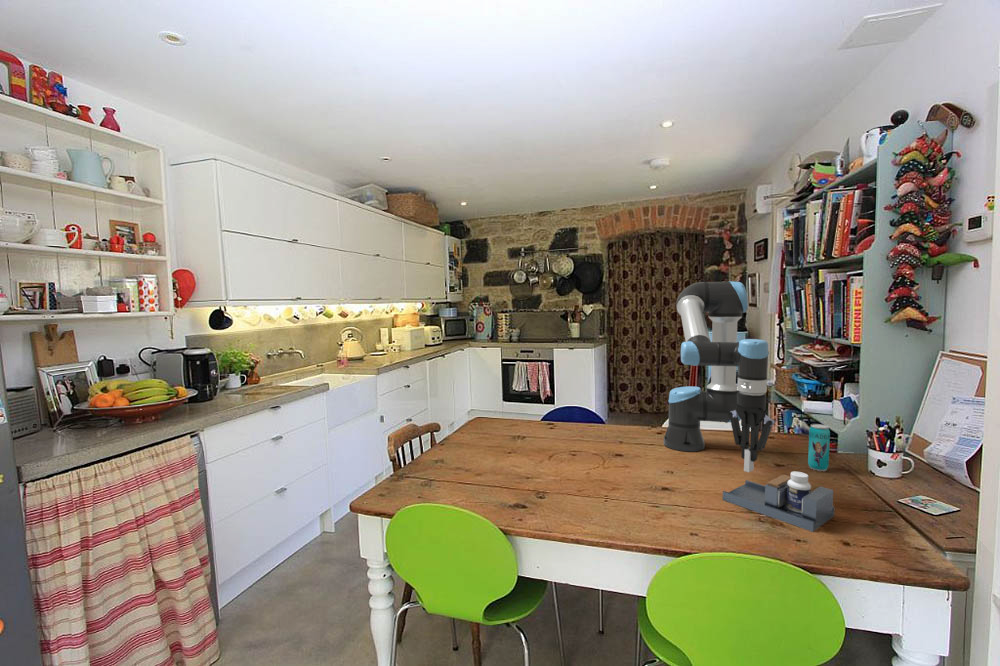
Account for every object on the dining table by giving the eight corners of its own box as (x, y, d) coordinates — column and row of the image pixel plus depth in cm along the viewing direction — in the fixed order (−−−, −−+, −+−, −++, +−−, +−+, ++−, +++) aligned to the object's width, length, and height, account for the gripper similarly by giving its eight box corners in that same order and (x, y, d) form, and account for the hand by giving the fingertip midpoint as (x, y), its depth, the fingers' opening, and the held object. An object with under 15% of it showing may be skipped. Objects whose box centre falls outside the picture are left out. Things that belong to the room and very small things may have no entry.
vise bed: (722, 500, 133) (723, 474, 132) (746, 488, 141) (747, 464, 140) (812, 531, 114) (814, 502, 114) (834, 515, 122) (835, 488, 122)
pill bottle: (785, 510, 123) (786, 474, 122) (787, 503, 127) (788, 468, 126) (809, 515, 119) (810, 479, 119) (811, 508, 123) (812, 473, 123)
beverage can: (809, 470, 154) (810, 427, 153) (806, 465, 160) (808, 422, 158) (829, 473, 152) (831, 429, 151) (826, 467, 157) (828, 424, 156)
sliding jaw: (764, 506, 125) (765, 482, 124) (782, 495, 131) (783, 473, 131) (777, 510, 122) (778, 486, 121) (795, 499, 128) (796, 477, 128)
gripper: (722, 390, 136) (720, 466, 139) (769, 398, 126) (765, 481, 128) (735, 386, 141) (733, 460, 143) (781, 394, 130) (778, 474, 133)
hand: (748, 470), depth 136 cm, fingers closed
